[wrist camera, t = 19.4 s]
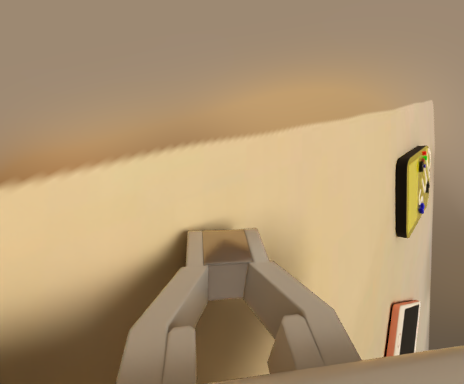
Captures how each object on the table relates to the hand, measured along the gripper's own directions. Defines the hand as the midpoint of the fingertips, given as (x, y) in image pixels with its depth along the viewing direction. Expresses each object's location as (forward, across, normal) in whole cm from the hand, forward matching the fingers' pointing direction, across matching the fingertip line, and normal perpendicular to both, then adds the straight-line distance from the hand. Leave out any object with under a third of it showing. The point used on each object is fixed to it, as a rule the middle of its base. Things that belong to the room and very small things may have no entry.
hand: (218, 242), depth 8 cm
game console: (+19, +32, -9) cm, 38 cm away
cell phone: (+8, +31, -29) cm, 43 cm away
